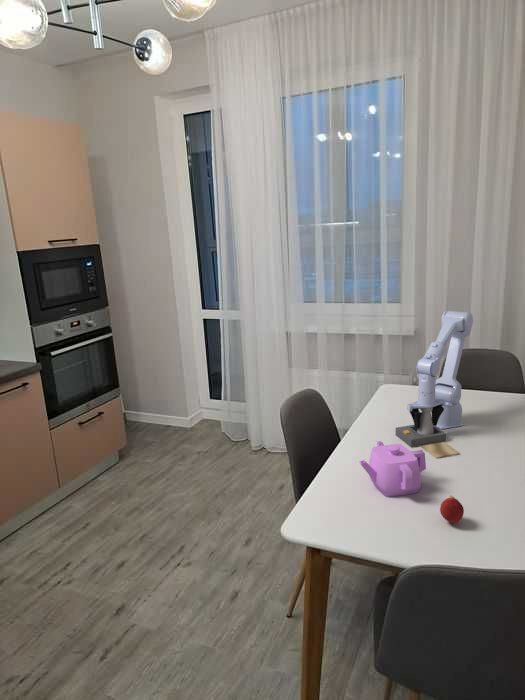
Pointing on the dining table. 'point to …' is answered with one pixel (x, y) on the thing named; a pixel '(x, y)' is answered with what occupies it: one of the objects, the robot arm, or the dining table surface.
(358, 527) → the dining table surface
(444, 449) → the oak pad
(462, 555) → the dining table surface
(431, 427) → the salt shaker
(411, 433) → the grey flat block
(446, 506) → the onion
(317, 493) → the dining table surface
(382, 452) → the teakettle
